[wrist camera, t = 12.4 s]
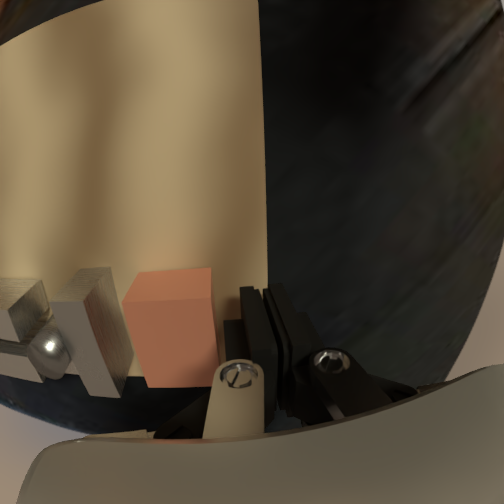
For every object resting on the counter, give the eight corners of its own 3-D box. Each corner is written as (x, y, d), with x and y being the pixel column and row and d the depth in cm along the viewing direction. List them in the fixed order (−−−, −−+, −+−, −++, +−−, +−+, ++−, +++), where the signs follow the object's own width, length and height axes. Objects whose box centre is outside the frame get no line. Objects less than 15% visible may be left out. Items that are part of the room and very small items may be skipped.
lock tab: (211, 267, 11) (210, 297, 9) (220, 347, 12) (222, 385, 10) (138, 272, 11) (121, 302, 8) (156, 350, 12) (148, 387, 10)
